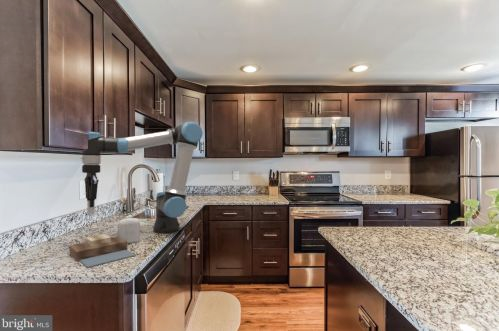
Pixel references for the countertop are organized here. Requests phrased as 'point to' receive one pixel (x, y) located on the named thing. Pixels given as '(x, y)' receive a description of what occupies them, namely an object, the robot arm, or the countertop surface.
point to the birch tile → (98, 240)
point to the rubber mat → (106, 258)
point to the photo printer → (129, 230)
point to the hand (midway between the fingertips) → (90, 213)
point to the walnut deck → (96, 249)
